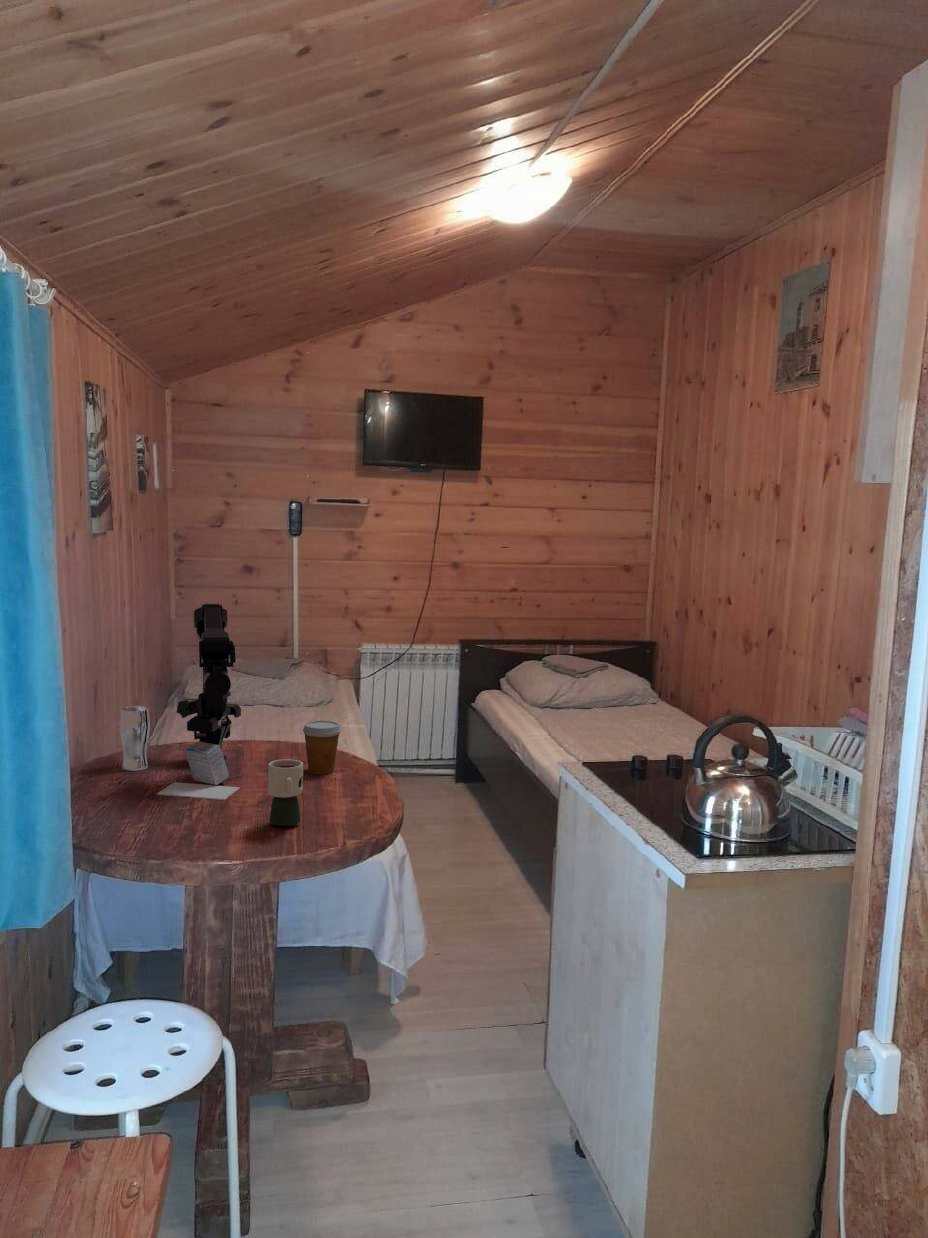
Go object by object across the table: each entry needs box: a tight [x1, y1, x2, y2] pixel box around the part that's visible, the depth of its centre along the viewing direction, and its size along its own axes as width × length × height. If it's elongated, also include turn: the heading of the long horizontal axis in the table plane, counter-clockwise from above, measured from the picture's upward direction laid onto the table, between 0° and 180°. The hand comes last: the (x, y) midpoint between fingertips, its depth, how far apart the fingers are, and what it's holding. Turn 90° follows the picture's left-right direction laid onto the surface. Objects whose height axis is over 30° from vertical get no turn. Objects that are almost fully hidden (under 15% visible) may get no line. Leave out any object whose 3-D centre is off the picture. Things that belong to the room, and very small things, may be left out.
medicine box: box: [184, 741, 230, 786], centre depth 215 cm, size 8×4×9 cm, turn 57°
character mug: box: [267, 758, 304, 828], centre depth 189 cm, size 11×7×13 cm, turn 20°
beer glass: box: [119, 705, 151, 772], centre depth 226 cm, size 7×7×15 cm
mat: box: [156, 781, 240, 801], centre depth 209 cm, size 9×16×1 cm, turn 82°
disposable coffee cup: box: [302, 720, 342, 775], centre depth 229 cm, size 10×10×12 cm
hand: (214, 752), depth 218 cm, fingers closed
